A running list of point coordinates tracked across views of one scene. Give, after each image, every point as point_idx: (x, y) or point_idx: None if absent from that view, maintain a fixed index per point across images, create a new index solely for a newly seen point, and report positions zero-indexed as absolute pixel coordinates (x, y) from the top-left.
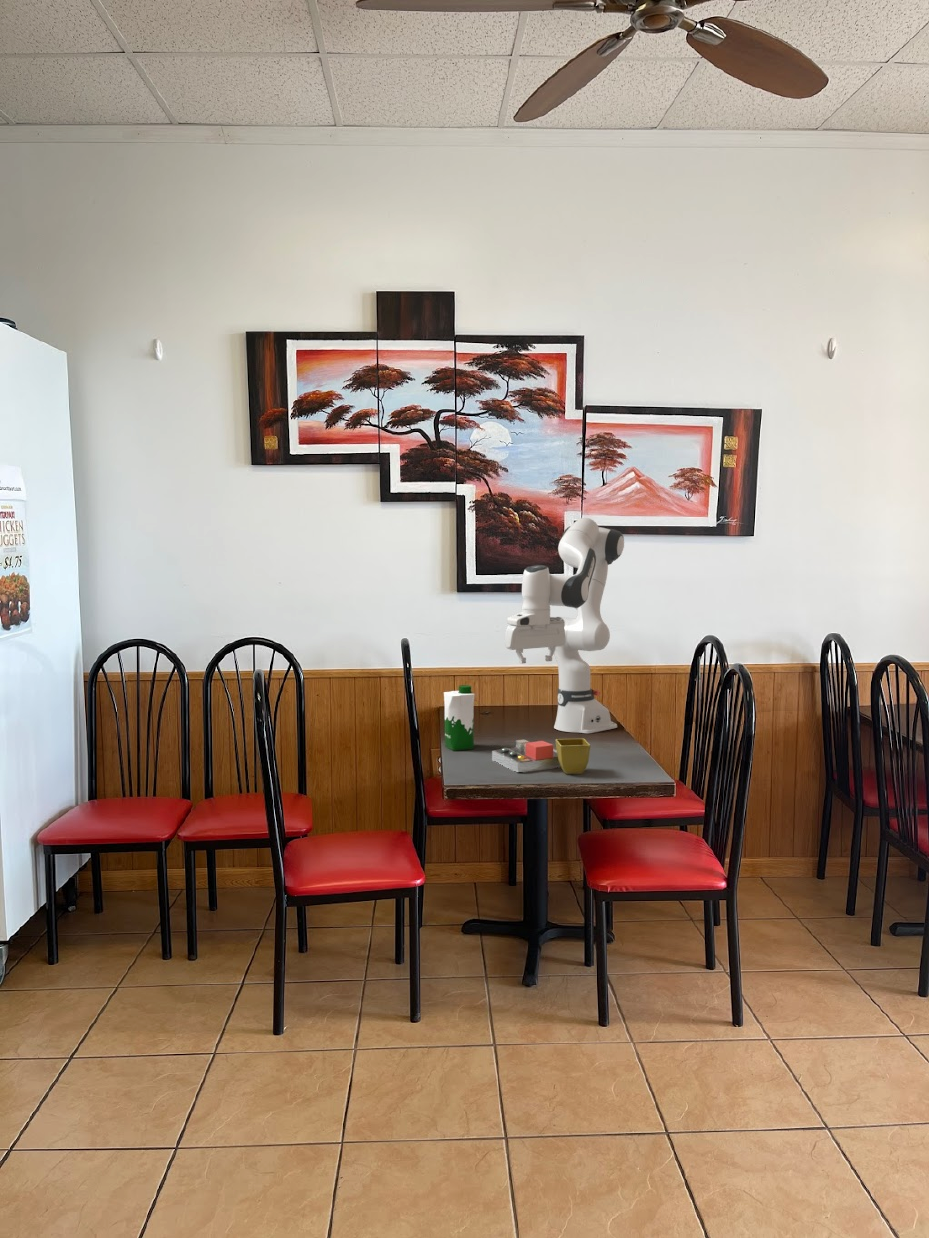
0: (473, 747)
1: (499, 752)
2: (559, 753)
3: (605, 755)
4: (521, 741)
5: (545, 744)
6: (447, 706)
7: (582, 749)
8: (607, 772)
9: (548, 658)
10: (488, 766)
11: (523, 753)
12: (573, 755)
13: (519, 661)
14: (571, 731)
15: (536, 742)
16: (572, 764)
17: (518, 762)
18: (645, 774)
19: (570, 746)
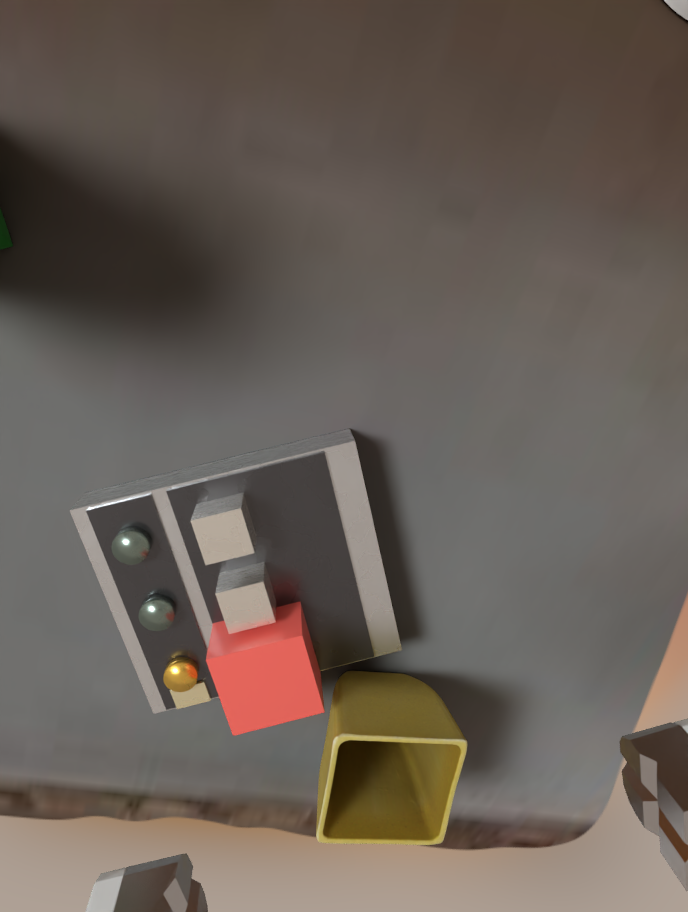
0: (9, 245)
1: (102, 548)
2: (322, 768)
3: (594, 512)
4: (215, 543)
5: (292, 698)
6: None
7: (405, 827)
8: (486, 718)
9: (660, 847)
10: (55, 578)
11: (211, 593)
12: (365, 802)
13: (95, 901)
14: (677, 7)
15: (261, 659)
16: (358, 767)
17: (159, 704)
18: (590, 753)
19: (357, 841)
